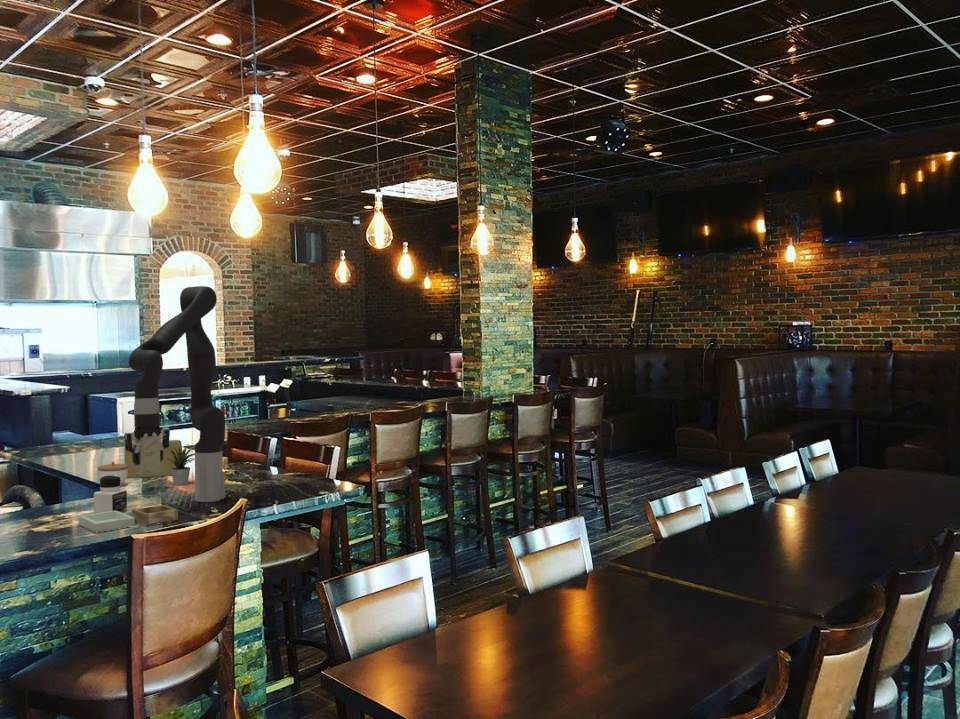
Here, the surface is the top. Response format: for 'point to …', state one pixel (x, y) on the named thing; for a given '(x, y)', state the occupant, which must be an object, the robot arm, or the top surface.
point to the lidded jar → (114, 471)
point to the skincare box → (148, 456)
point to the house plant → (180, 465)
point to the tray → (106, 521)
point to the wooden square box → (155, 514)
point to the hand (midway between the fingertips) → (148, 463)
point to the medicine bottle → (110, 495)
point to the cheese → (164, 465)
